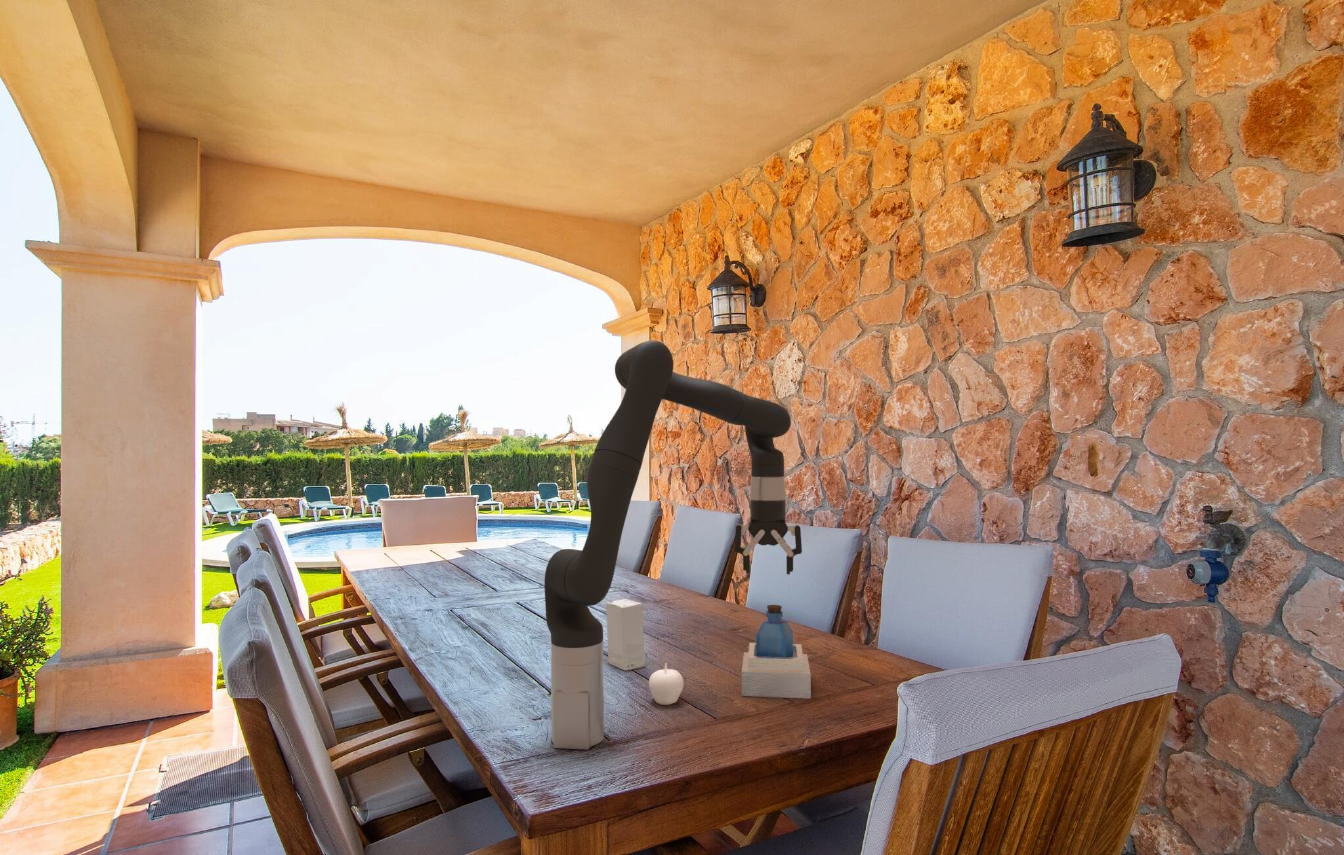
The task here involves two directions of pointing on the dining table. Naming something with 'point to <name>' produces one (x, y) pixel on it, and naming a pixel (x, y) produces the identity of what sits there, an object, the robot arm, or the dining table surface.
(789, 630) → the perfume bottle
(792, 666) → the white square stand
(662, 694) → the plain white apple
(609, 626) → the skincare box
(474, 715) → the dining table surface
